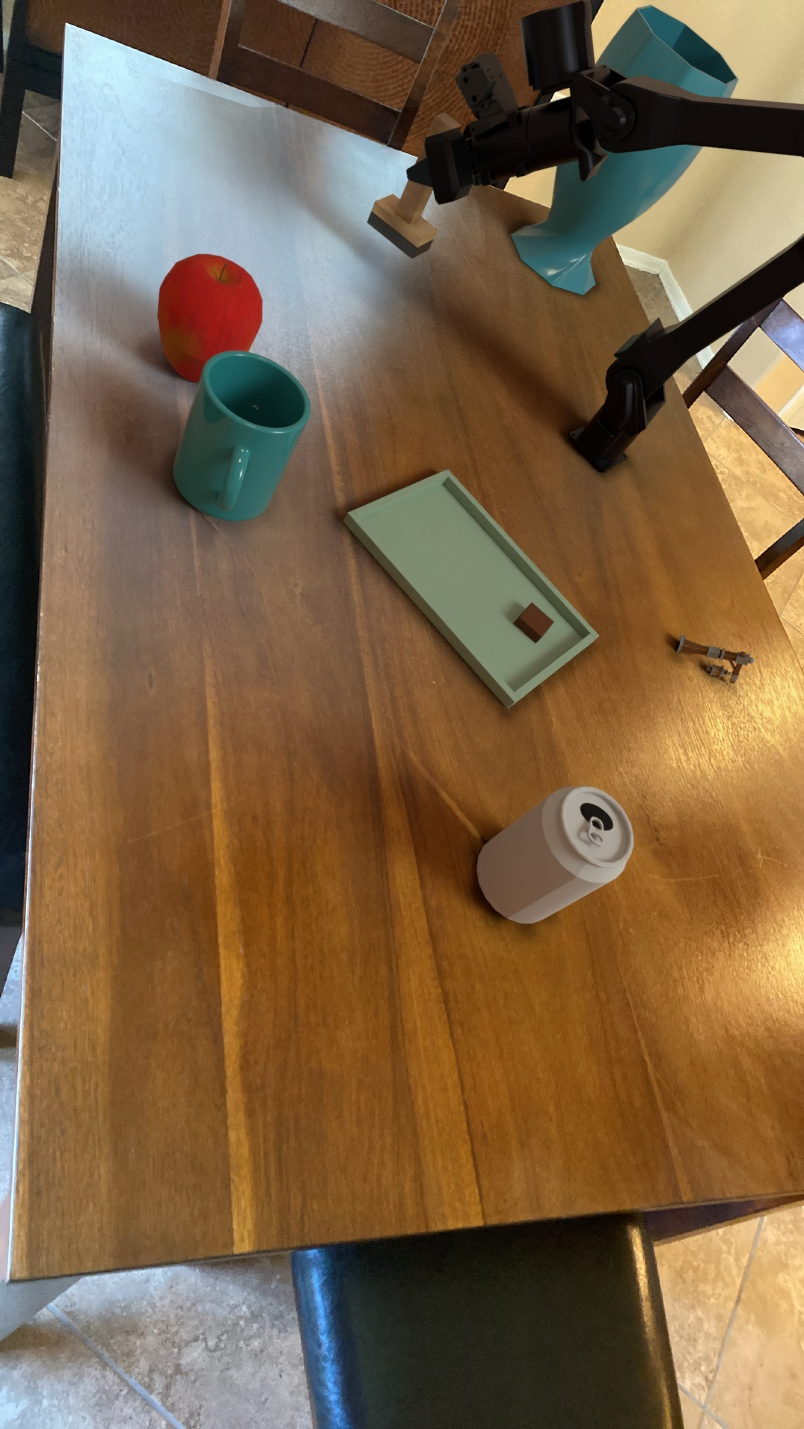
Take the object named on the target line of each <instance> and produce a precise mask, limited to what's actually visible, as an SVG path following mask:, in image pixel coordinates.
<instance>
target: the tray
mask: <svg viewBox="0 0 804 1429" xmlns="http://www.w3.org/2000/svg"><path fill="white" fill-rule="evenodd" d="M342 523H343V524H344V525H345V526H346V527H347V528H348V529H349V531H350V532H352V534H353V535H354V536H355V537H356V538H357V539H358V541H359V542H360V544H362V546H364V547H365V549H366V550H367V551H368V552H369V553H370V554H371V555H372V556H373V558H374V559H375V560H376V562H378V563H379V564H380V566H381V567H382V568H383V570H385V571H386V573H387V574H388V575H389V576H390V578H392V579H393V581H394V582H395V583H396V584H397V585H398V586H399V587H400V588H401V590H402V591H403V592H404V593H405V594H406V595H407V596H408V598H409V599H410V600H411V601H412V602H413V603H414V604H415V606H416V607H417V608H418V609H419V610H420V611H421V613H423V615H424V616H425V617H426V618H427V619H428V620H429V621H430V622H431V624H432V625H433V626H434V627H435V629H436V630H437V631H438V632H439V633H440V634H441V635H442V636H443V637H444V638H445V639H446V641H447V642H448V644H450V645H451V647H452V648H453V649H454V650H455V651H456V652H457V653H458V654H459V656H460V657H461V658H462V659H463V660H464V662H465V663H466V664H467V665H469V667H470V668H471V669H472V671H474V673H476V675H477V677H478V678H480V680H482V682H483V683H484V684H485V685H486V686H487V687H488V688H489V690H490V691H491V692H492V693H493V694H494V695H495V697H497V699H498V700H499V701H500V702H501V704H503V705H504V707H505V708H506V709H507V710H509V709H510V708H511V707H512V706H514V705H516V704H517V703H518V702H519V701H520V700H521V699H523V698H524V697H525V696H526V695H528V694H529V693H530V692H531V691H533V690H534V689H535V688H536V687H538V686H539V685H541V684H542V683H543V682H544V681H546V680H547V679H548V678H549V677H551V676H552V675H553V674H554V673H556V672H557V671H558V670H560V669H561V668H562V667H563V666H565V665H566V664H567V663H568V662H570V661H571V660H572V659H573V658H574V657H576V656H578V655H579V654H580V653H581V652H583V651H584V650H585V649H587V647H588V646H590V645H591V644H592V643H593V642H594V641H596V640H597V639H598V638H599V637H600V635H599V633H598V632H597V631H596V630H595V629H594V628H593V627H592V626H591V625H590V624H589V622H588V621H587V620H586V619H585V618H584V617H583V616H582V614H580V612H578V610H577V609H576V608H575V607H574V606H573V605H572V604H571V603H570V602H569V601H568V600H567V599H566V597H565V596H564V595H563V594H562V592H560V591H559V590H558V588H557V587H556V586H555V584H553V583H552V582H551V581H550V580H549V578H548V577H547V576H546V575H545V574H544V573H543V572H542V571H541V570H540V568H538V566H537V565H536V564H535V563H534V562H533V561H532V560H531V559H530V558H529V557H528V556H527V554H526V553H525V552H524V551H523V550H522V548H521V547H520V546H519V545H518V544H517V543H516V542H515V541H514V540H513V539H512V538H511V536H510V535H509V534H508V533H507V532H506V531H505V530H504V529H503V528H502V527H501V525H500V524H498V522H497V521H496V520H495V519H494V518H493V517H492V515H490V514H489V513H488V512H487V510H486V509H485V507H483V506H482V505H481V503H479V502H478V500H477V499H476V498H475V496H473V495H472V494H471V493H470V492H469V491H468V489H467V488H466V487H465V486H464V485H463V484H462V483H461V482H460V481H459V480H458V478H457V477H456V476H455V475H454V474H453V473H452V472H451V471H450V470H449V468H446V469H444V470H442V471H440V472H437V473H435V474H432V475H431V476H428V477H426V478H424V479H421V480H419V481H417V482H414V483H412V484H410V485H407V486H405V487H403V488H401V489H398V490H396V491H394V492H392V493H390V494H387V495H385V496H381V497H380V498H378V499H376V500H373V501H371V502H369V503H366V504H364V505H362V506H360V507H357V508H354V509H352V510H351V511H348V512H346V514H345V517H344V519H343V520H342ZM530 603H534V604H535V605H536V606H537V607H538V608H539V609H540V610H541V611H543V612H544V613H545V614H546V615H547V616H548V617H549V618H550V619H552V620H553V621H554V623H553V624H552V626H551V627H550V628H549V629H548V631H547V632H546V633H545V634H544V636H543V637H542V638H541V639H540V640H539V641H538V642H537V643H535V642H534V641H532V640H531V639H530V638H529V637H528V636H527V635H526V634H525V633H523V632H522V631H521V630H520V629H519V628H518V627H517V626H516V625H514V622H515V621H516V619H517V618H518V617H519V616H520V615H521V614H522V612H523V611H524V610H525V609H526V608H527V607H528V606H529V604H530Z"/></svg>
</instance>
